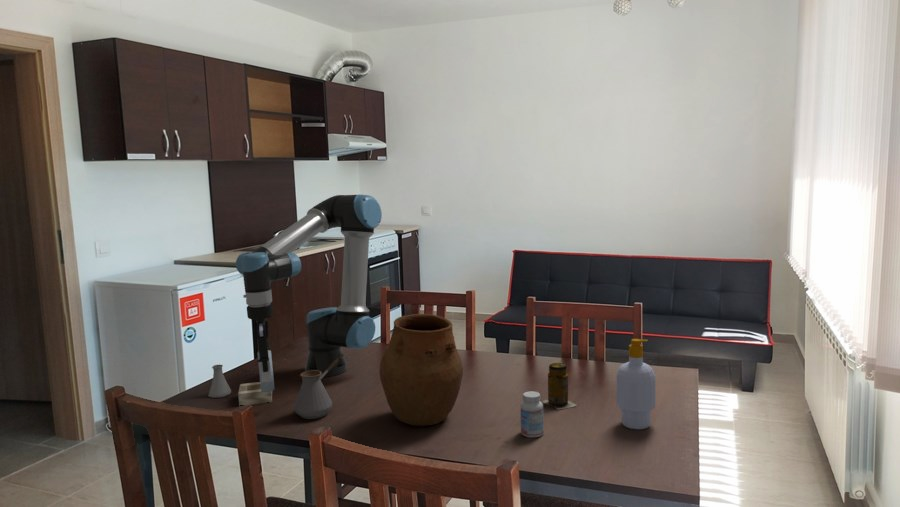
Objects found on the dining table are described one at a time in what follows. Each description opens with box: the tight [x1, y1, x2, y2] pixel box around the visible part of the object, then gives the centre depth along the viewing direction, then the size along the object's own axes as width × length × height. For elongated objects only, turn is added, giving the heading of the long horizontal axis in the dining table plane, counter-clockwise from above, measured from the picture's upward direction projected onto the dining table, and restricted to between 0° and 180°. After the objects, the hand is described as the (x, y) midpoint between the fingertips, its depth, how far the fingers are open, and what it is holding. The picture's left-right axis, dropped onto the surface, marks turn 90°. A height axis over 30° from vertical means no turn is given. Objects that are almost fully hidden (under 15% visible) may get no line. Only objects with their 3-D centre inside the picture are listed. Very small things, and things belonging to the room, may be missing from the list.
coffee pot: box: [293, 353, 348, 420], centre depth 199 cm, size 21×12×15 cm, turn 149°
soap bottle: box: [616, 338, 657, 430], centre depth 177 cm, size 10×10×24 cm
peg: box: [256, 349, 275, 392], centre depth 197 cm, size 4×4×12 cm
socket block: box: [237, 381, 273, 407], centre depth 211 cm, size 10×10×4 cm
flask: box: [208, 364, 232, 399], centre depth 216 cm, size 7×7×10 cm
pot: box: [379, 313, 464, 427], centre depth 186 cm, size 24×24×30 cm
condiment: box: [541, 362, 578, 411], centre depth 196 cm, size 7×8×12 cm
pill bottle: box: [520, 390, 545, 439], centre depth 175 cm, size 6×6×11 cm
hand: (266, 378), depth 198 cm, fingers closed on peg, 4 cm apart
